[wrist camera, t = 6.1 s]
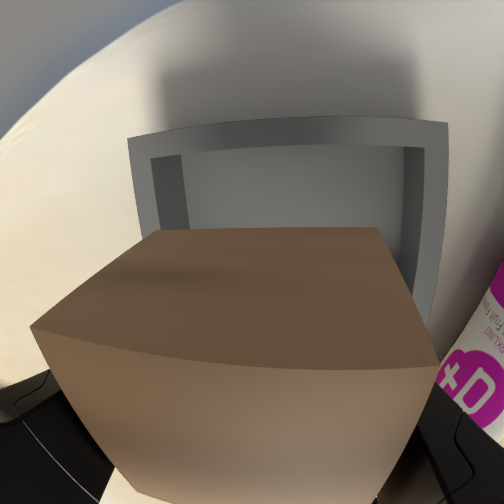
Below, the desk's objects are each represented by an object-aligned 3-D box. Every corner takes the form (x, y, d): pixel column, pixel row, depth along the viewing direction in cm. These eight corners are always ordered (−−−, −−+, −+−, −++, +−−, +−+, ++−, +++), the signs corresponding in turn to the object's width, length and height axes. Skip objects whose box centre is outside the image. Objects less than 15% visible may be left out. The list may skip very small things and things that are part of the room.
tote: (405, 303, 19) (421, 345, 15) (191, 299, 22) (165, 335, 18) (417, 123, 14) (447, 122, 10) (167, 134, 18) (127, 138, 14)
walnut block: (355, 394, 10) (355, 525, 5) (191, 383, 11) (136, 491, 6) (376, 227, 7) (440, 365, 3) (156, 230, 9) (29, 326, 4)
